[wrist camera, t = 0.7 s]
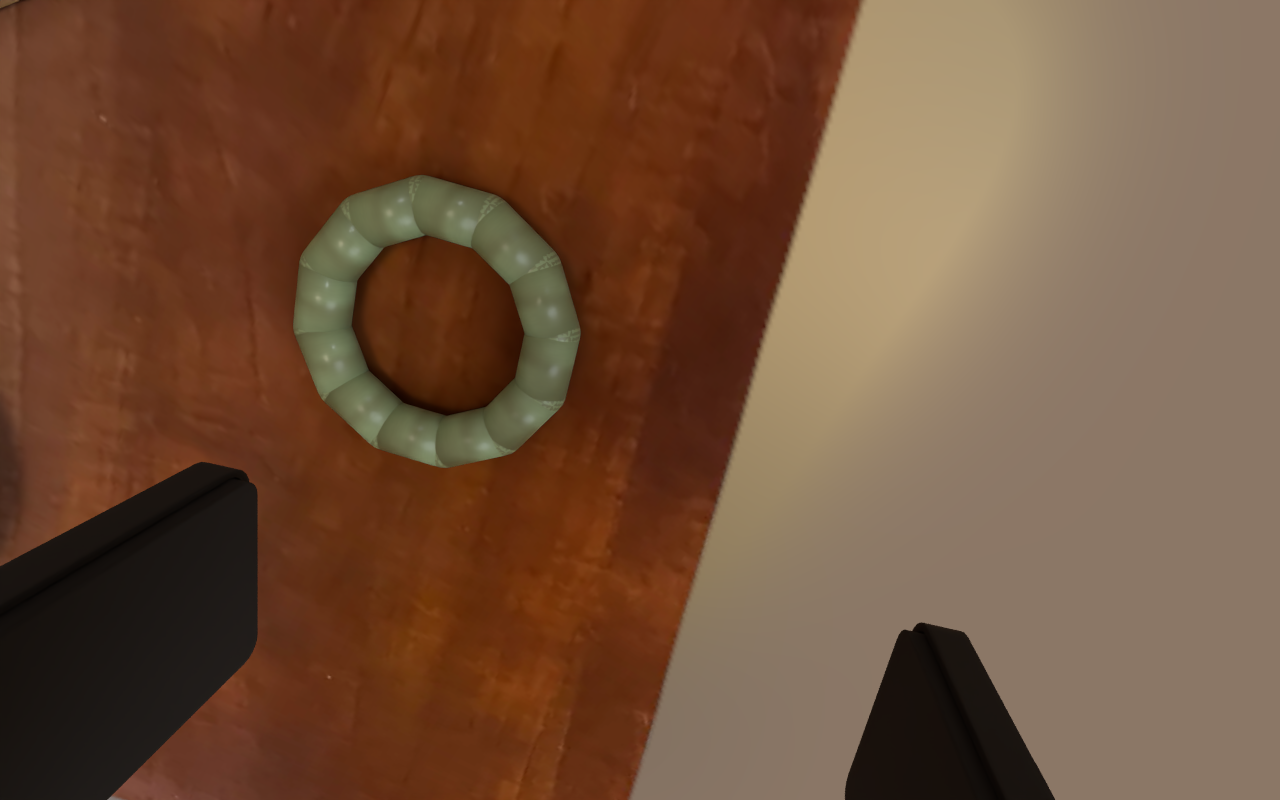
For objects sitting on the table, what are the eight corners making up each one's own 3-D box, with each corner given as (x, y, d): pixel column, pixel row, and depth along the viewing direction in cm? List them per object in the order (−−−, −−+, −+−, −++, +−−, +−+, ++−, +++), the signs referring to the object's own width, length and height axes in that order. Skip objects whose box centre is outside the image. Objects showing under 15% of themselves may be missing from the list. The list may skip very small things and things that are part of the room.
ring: (532, 144, 22) (516, 140, 20) (613, 422, 24) (605, 440, 22) (272, 223, 23) (237, 226, 22) (373, 475, 26) (348, 495, 24)
